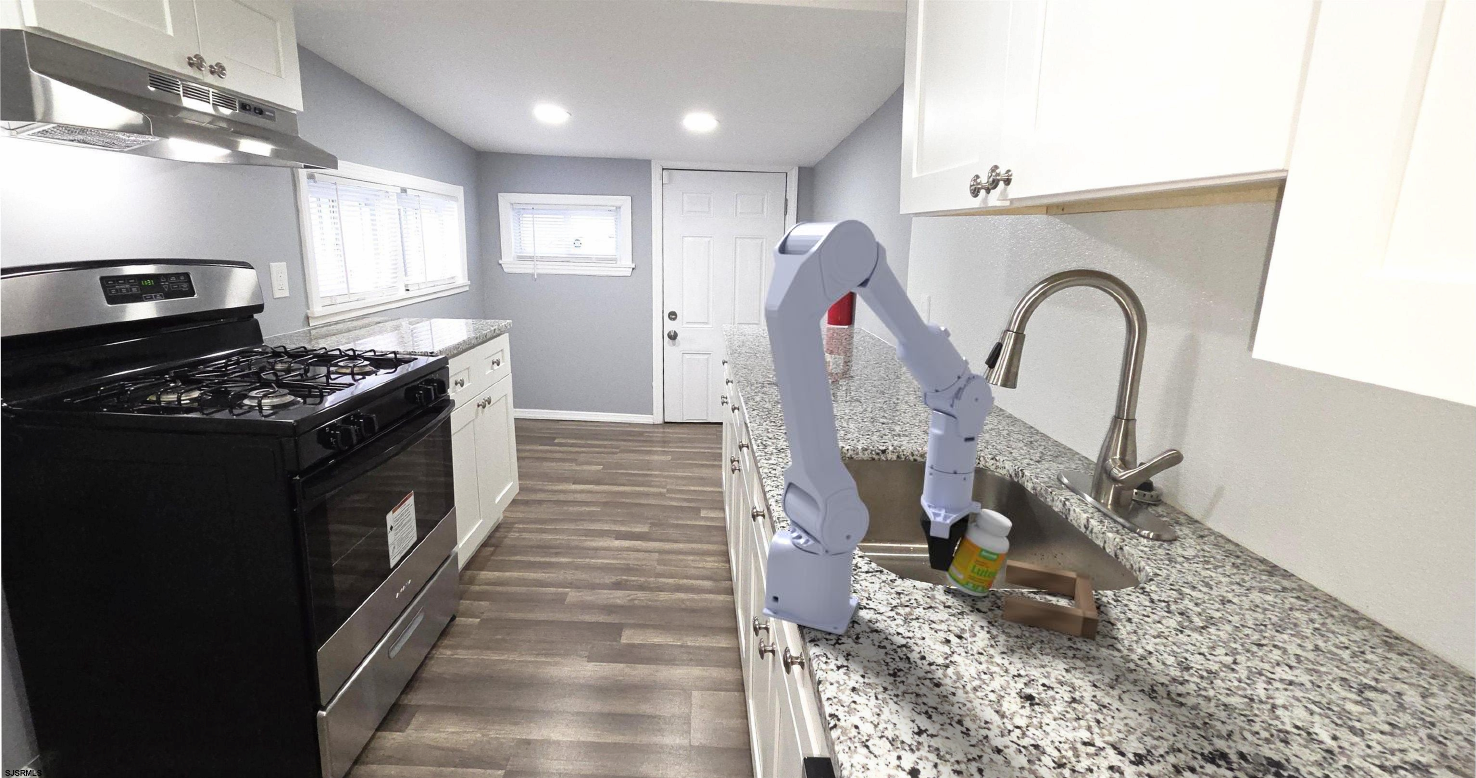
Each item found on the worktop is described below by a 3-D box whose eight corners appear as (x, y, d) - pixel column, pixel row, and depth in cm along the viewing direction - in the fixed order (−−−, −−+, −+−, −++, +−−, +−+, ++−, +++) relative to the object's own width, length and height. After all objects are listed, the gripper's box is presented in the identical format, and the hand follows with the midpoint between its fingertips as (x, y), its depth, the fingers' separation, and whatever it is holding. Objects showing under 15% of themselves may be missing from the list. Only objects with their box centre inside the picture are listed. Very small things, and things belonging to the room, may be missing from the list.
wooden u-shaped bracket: (1002, 619, 75) (1005, 599, 75) (1004, 576, 85) (1006, 559, 85) (1095, 639, 72) (1098, 619, 71) (1086, 593, 82) (1088, 574, 81)
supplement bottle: (960, 596, 79) (991, 527, 76) (937, 569, 83) (965, 503, 81) (996, 599, 80) (1027, 531, 78) (971, 572, 85) (999, 508, 82)
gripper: (981, 491, 72) (969, 602, 75) (987, 454, 85) (976, 550, 88) (916, 480, 75) (906, 588, 78) (931, 446, 88) (922, 540, 91)
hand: (939, 567), depth 83 cm, fingers closed, pressing on supplement bottle
